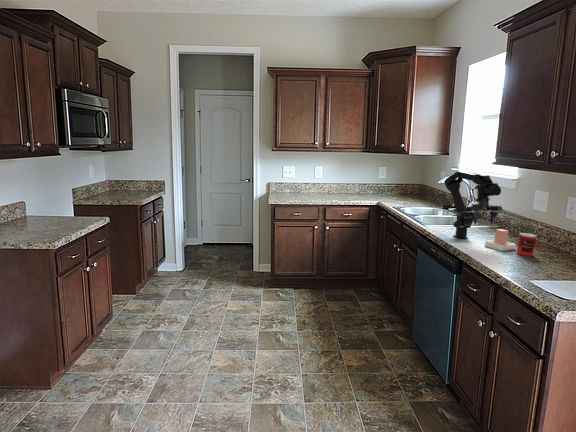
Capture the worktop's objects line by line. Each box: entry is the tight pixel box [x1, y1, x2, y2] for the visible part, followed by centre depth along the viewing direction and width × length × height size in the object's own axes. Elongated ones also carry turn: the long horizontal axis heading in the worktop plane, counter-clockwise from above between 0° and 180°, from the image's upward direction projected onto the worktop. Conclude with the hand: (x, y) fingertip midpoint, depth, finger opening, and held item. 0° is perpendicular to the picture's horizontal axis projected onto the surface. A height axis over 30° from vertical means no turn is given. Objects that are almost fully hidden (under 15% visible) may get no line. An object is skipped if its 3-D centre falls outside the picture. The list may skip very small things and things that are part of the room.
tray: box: [484, 239, 517, 252], centre depth 234 cm, size 11×11×3 cm
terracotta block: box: [493, 228, 509, 245], centre depth 233 cm, size 4×4×10 cm
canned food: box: [516, 232, 537, 258], centre depth 221 cm, size 8×8×11 cm
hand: (483, 224), depth 237 cm, fingers open, 9 cm apart
